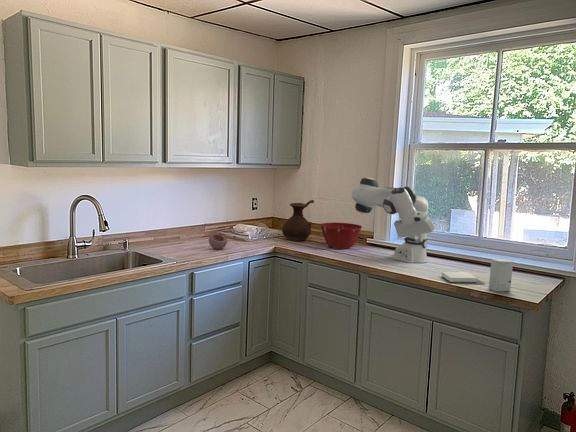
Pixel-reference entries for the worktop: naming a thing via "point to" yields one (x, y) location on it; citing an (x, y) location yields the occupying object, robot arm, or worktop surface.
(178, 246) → the worktop surface
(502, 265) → the skincare box
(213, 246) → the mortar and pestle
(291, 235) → the jug
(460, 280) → the tile
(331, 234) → the mixing bowl
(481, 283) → the mat
